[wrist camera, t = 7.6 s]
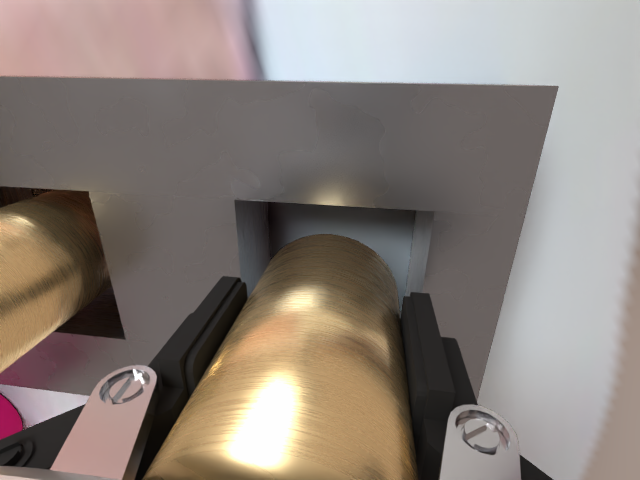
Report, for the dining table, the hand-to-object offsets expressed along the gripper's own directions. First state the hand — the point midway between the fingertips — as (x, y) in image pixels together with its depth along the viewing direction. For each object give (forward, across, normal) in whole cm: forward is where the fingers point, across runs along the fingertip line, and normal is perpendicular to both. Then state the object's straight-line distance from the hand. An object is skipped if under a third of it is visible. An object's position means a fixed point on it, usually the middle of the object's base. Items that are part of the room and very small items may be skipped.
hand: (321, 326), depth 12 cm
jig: (+6, +6, 0) cm, 8 cm away
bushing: (+2, 0, 0) cm, 2 cm away
